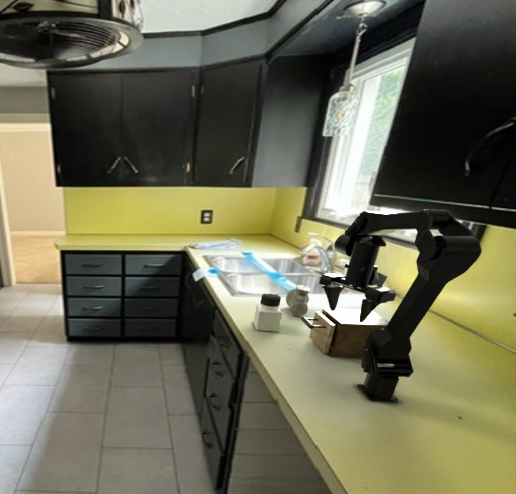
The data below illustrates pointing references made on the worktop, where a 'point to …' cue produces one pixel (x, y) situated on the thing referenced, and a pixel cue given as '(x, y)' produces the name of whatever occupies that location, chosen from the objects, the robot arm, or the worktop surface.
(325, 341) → the drawer
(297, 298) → the pipe fitting
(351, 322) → the cabinet
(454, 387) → the worktop surface
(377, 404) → the worktop surface
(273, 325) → the medicine bottle
